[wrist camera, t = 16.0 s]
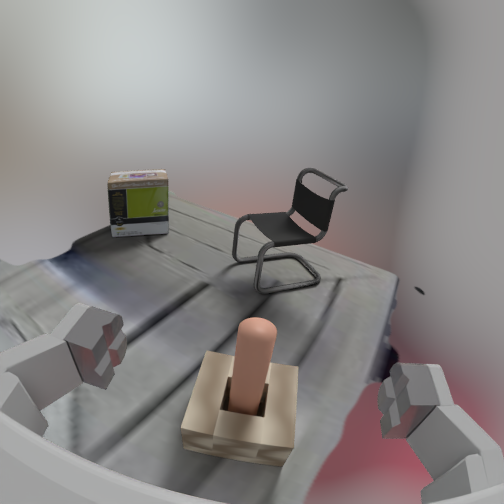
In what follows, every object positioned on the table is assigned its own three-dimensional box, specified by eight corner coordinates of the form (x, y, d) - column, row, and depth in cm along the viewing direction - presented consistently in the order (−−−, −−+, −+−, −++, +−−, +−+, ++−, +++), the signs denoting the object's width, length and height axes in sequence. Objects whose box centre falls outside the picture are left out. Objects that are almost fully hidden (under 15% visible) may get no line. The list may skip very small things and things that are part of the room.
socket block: (183, 448, 31) (180, 427, 28) (205, 377, 42) (206, 350, 39) (282, 466, 31) (293, 447, 28) (288, 392, 41) (298, 366, 38)
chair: (326, 283, 67) (351, 187, 56) (253, 297, 60) (270, 186, 49) (296, 254, 77) (314, 167, 66) (230, 262, 70) (240, 165, 59)
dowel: (224, 423, 34) (235, 339, 27) (230, 401, 37) (241, 314, 30) (253, 428, 34) (275, 346, 27) (257, 406, 37) (278, 321, 30)
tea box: (165, 218, 86) (166, 168, 79) (168, 235, 78) (169, 178, 71) (113, 221, 81) (110, 170, 74) (110, 238, 73) (106, 181, 65)
